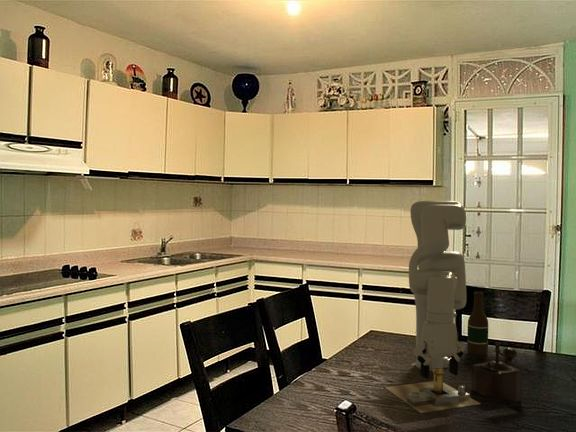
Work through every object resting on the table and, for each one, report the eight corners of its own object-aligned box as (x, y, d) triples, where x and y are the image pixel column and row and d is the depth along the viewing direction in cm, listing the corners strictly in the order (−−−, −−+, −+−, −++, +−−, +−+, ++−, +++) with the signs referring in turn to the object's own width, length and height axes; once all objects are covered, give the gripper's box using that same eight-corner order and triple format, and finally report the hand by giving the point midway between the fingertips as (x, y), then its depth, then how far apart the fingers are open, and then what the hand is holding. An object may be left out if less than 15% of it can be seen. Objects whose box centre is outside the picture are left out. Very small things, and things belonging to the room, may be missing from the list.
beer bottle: (465, 349, 208) (466, 290, 207) (485, 350, 206) (486, 290, 206) (469, 355, 200) (470, 293, 199) (490, 356, 199) (491, 294, 198)
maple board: (439, 384, 168) (439, 380, 168) (480, 408, 149) (480, 403, 149) (384, 392, 162) (384, 387, 162) (420, 418, 143) (420, 412, 143)
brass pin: (439, 397, 154) (440, 367, 154) (446, 401, 151) (447, 371, 150) (429, 398, 153) (430, 368, 152) (436, 403, 150) (437, 372, 149)
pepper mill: (468, 394, 160) (469, 337, 159) (495, 389, 165) (496, 333, 164) (508, 414, 146) (510, 350, 145) (536, 407, 151) (538, 346, 150)
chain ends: (457, 391, 159) (457, 381, 158) (474, 401, 151) (475, 391, 151) (403, 399, 152) (403, 388, 152) (418, 409, 145) (418, 399, 145)
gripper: (457, 312, 157) (456, 368, 158) (407, 316, 152) (406, 374, 152) (473, 318, 150) (472, 376, 151) (421, 322, 144) (421, 383, 145)
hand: (439, 375), depth 151 cm, fingers open, 9 cm apart
